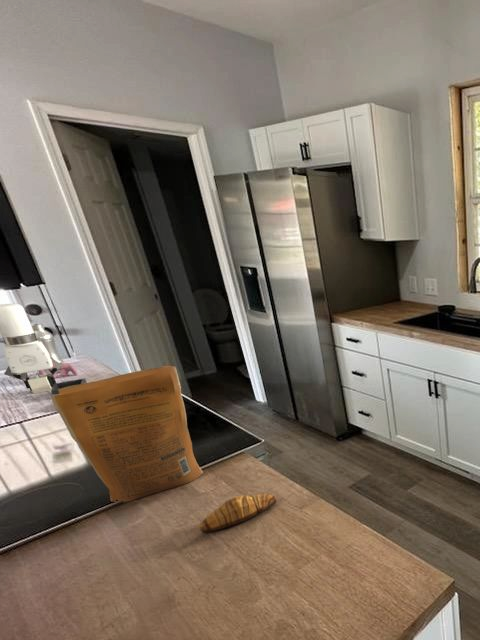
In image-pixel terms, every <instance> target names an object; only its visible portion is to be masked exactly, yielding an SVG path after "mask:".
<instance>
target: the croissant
mask: <svg viewBox="0 0 480 640" xmlns="http://www.w3.org/2000/svg"><path fill="white" fill-rule="evenodd" d="M276 503H277V497H276V496H275V495H274V494H269V493H259V494H250V495H246V494H241V495H237V496H233V497H231V498H229V499H228V500H226V501H224V502H223V504H222V505H221V506H219V507H218V508H216V509H215V510H214V511H212V512H211V513H209V515H207V516H206V517H205V518H204V519H203V520H202V522H200V523H199V531H201V532H202V534H205V533H212V532H215V531H216V532H217V531H220V530H224V529H226V528H229V527H231V526H235V525H238V524H241V523H244V522H246V521H248V520H250V519H251V518H253V517H255V516H256V515H259V514H261V513H263V512H265V511H266V510H268V509H270V508H271V507H272V506H274V505H275V504H276Z"/></svg>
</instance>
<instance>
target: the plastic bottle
mask: <svg viewBox="0 0 480 640" xmlns="http://www.w3.org/2000/svg"><path fill="white" fill-rule="evenodd" d="M31 326H32V328H33V331H34V333H35V335H36V337H37V340H38V341H41V342H42V343H43V345H44V346H45V347H46V349H47V351H48V352H49V354H50V356H51V358H52V359H54V360H56V361H58V362H64V360H63V359H62V357H61V355H60V353H59V352H58V349H57V346H56V342H55V337H54V335H53V334H52V333H51V332H50V331H48V330H46V329H45V326H44V324H43V323H33V324H31ZM60 371H61V370H57V371H56V372H55V373H57V374H58V373H60Z"/></svg>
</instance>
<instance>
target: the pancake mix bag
mask: <svg viewBox="0 0 480 640" xmlns="http://www.w3.org/2000/svg"><path fill="white" fill-rule="evenodd" d="M58 390H59V393H60V394H58V395H52V394H51V395H50V396H51V401H52V404H53V407H54V410H56V412H57V413H58V414H59V416H60V417H61V420H62V421H63V423H64V425H65V427H66V429H67V431H68V433H69V434H70V436H71V439H72V440H74V441H75V443H76V444H77V447H78V448H79V450H80V451H81V453H82V454H83V455H84V456H85V458H86V459H87V461H88V462H89V464H90V465H91V466H92V468H93V470H94V471H95V473H96V475H97V476H98V477H99V479H100V480H101V481H102V482H103V484H104V485H105V486H106V487H107V489H108V490H109V498H110V499H109V500H110V502H112V503H113V502H115V503H128V502H133V501H134V502H135V501H137V500H140V499H142V498H146V497H149V496H152V495H155V494H158V493H161V492H164V491H168V490H170V489H174V488H177V487H180V486H183V485H187V484H190V483H191V482H194V481H195V480H197V478H199V477H200V476H201V475H202V474H203V473H204V472H203V470H202V468H201V467H200V466H199V464H198V462H197V460H196V458H195V455H194V452H193V451H194V450H193V442H192V440H191V436H190V432H189V428H188V422H187V421H188V420H187V413H186V408H185V407H186V406H185V402H184V399H183V396H182V387H181V382H180V379H179V374H178V371H177V366H173V365H163V366H157V367H152V368H146V369H142V370H136V371H132V372H126V373H123V374H119V375H115V376H112V377H111V376H110V377H108V378H104V379H99V380H95V381H89V382H88V381H87V383H84V384H79V385H73V386H68V387H64V388H60V389H58ZM116 500H118V501H116ZM121 501H123V502H121Z"/></svg>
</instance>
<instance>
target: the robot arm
mask: <svg viewBox="0 0 480 640" xmlns="http://www.w3.org/2000/svg"><path fill="white" fill-rule="evenodd" d="M31 325H32V324H31V322H30V319H29V318H28V315H27V313H26V311H25V308H24V306H22V305H21V304H19V303H1V304H0V335H1V337H0V344H4V345H3V346H2V349H3V353H4V357H5V360H6V363H7V365H8V366H7V367H6V370H5V371H4V373H3V374H4V375H5V376H7V377H10V378H11V377H12V378H15V379H18V380H20V381H22V382H23V383H24V385H25V387H26V389H27V390H29V391H30V392H33V391H32V389H31V387H30V385H29V383H28V380H29V378H30V377H29V376H28V374H29V373H33V372H34V373H35V372H39V371H41V370H43V371H44V372H45V373H46V374H47V376H48V377H47V379H48V381H49V383H50V386H51V387H53V385H54V383H57V381H56V378H54V376H53V375H54V373H55V372H56V371H57V370H58V369H59V368H61V367H62V366H63V364H62V363H60V362H58V361H56V360H54V359H52V358H51V356H50V354H49V352H48V351H47V349H46V347H45V346H44V345H43V343H42V342H41V341H38V340H37V337H36V335H35V333H34V331H33V328H32V326H31ZM53 364H54V365H56V366H55V367H54V368H53V369H52V370H51V369H50V368H52V366H53Z"/></svg>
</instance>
